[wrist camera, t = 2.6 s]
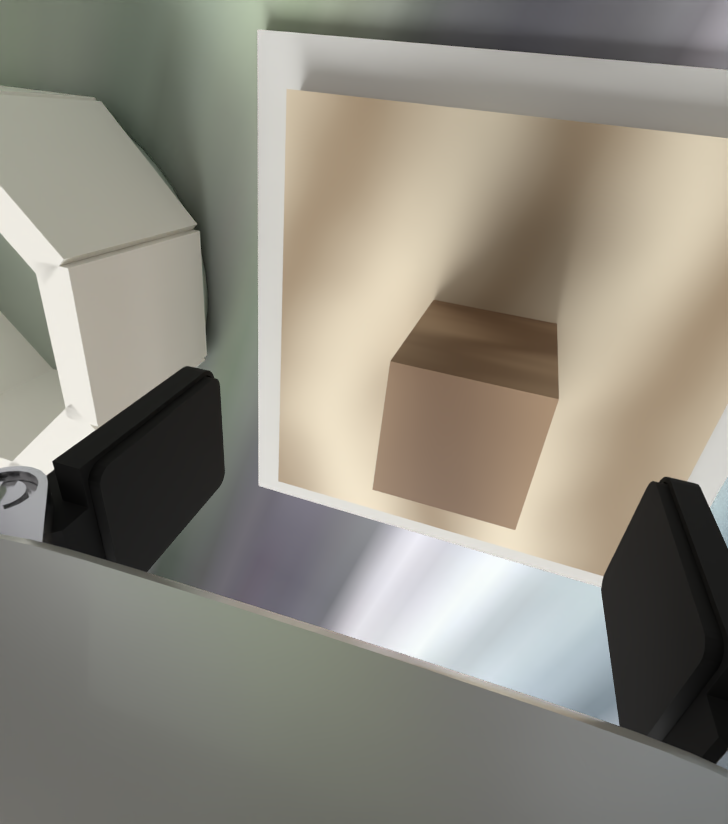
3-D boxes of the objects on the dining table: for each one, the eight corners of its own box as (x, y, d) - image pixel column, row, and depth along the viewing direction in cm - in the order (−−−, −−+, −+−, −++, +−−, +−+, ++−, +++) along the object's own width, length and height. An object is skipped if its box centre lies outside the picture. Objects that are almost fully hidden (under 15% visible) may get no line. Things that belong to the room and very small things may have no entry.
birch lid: (839, 151, 13) (1041, 166, 8) (629, 566, 21) (656, 721, 15) (300, 91, 16) (175, 71, 11) (287, 469, 24) (210, 568, 19)
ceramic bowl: (202, 110, 18) (36, 100, 12) (218, 426, 25) (115, 518, 19) (-83, 74, 21) (-328, 52, 15) (0, 366, 28) (-149, 430, 22)
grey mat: (936, 90, 13) (949, 88, 12) (653, 594, 22) (654, 603, 21) (264, 32, 16) (257, 29, 16) (263, 479, 26) (258, 485, 25)
